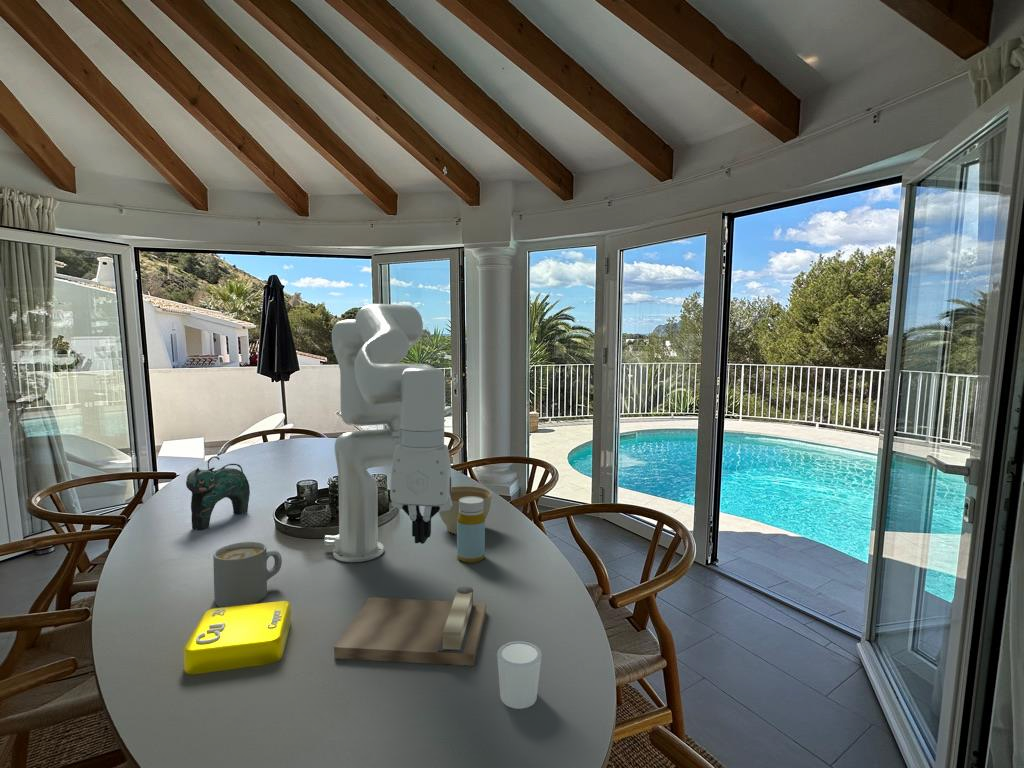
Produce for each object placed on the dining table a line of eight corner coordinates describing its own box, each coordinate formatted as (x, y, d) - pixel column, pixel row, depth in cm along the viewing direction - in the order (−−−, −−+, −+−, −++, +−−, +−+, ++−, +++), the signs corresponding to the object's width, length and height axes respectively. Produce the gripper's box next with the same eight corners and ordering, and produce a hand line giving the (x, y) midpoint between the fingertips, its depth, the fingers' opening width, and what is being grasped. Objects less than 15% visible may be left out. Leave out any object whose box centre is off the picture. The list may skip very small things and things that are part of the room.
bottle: (480, 564, 130) (481, 504, 129) (453, 562, 132) (453, 502, 131) (487, 553, 137) (488, 497, 136) (461, 551, 139) (462, 495, 137)
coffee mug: (218, 612, 105) (217, 563, 105) (211, 593, 113) (210, 547, 113) (289, 594, 113) (288, 549, 113) (278, 578, 121) (277, 535, 121)
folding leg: (458, 600, 107) (458, 586, 107) (473, 601, 107) (474, 586, 106) (442, 649, 90) (442, 631, 90) (460, 649, 90) (460, 632, 89)
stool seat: (334, 658, 91) (334, 645, 91) (369, 606, 109) (369, 596, 109) (473, 666, 89) (473, 653, 89) (485, 612, 107) (486, 601, 107)
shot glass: (495, 683, 85) (495, 641, 84) (537, 681, 85) (538, 639, 85) (497, 712, 78) (498, 667, 77) (544, 710, 79) (545, 665, 78)
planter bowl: (425, 534, 150) (425, 497, 149) (452, 518, 165) (452, 483, 164) (476, 543, 144) (476, 504, 143) (499, 525, 159) (500, 489, 158)
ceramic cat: (198, 532, 149) (196, 462, 148) (181, 530, 151) (179, 460, 150) (253, 512, 168) (252, 449, 166) (237, 509, 170) (236, 448, 168)
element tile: (281, 664, 90) (280, 637, 89) (180, 678, 85) (179, 650, 85) (292, 620, 104) (291, 596, 104) (206, 630, 100) (205, 605, 99)
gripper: (373, 440, 89) (372, 546, 91) (460, 444, 88) (458, 551, 89) (387, 432, 97) (387, 530, 98) (468, 436, 95) (467, 535, 97)
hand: (421, 540), depth 94 cm, fingers closed
